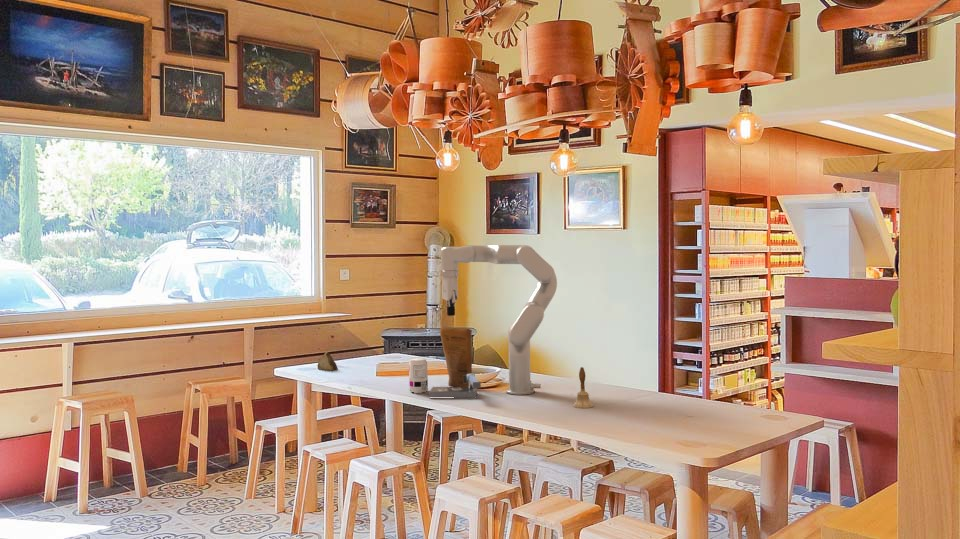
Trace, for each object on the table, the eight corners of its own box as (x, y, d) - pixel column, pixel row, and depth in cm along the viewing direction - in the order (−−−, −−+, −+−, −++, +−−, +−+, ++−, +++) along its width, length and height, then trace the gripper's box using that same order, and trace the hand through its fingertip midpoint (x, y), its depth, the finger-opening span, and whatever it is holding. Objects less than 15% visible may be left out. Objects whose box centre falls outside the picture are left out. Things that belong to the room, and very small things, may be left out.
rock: (311, 365, 415) (319, 365, 407) (319, 351, 418) (327, 350, 410) (327, 375, 420) (335, 375, 412) (335, 361, 423) (343, 361, 415)
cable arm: (466, 379, 347) (466, 373, 347) (474, 378, 348) (474, 373, 347) (472, 388, 327) (472, 382, 327) (481, 388, 328) (481, 382, 328)
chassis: (477, 393, 348) (476, 379, 347) (475, 398, 338) (474, 384, 337) (432, 393, 350) (432, 379, 349) (429, 398, 340) (429, 384, 339)
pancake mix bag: (468, 390, 354) (466, 329, 352) (439, 385, 367) (438, 326, 366) (478, 388, 359) (477, 327, 357) (450, 382, 372) (448, 324, 370)
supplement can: (406, 393, 352) (405, 360, 351) (416, 389, 359) (415, 357, 358) (421, 394, 348) (420, 361, 347) (431, 390, 355) (430, 358, 355)
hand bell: (577, 409, 315) (577, 370, 314) (569, 404, 323) (569, 366, 322) (596, 407, 317) (596, 368, 316) (588, 402, 325) (588, 365, 324)
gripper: (437, 273, 352) (438, 314, 353) (447, 275, 338) (448, 317, 339) (453, 273, 354) (453, 313, 355) (463, 275, 340) (464, 316, 341)
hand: (451, 315), depth 347 cm, fingers closed
